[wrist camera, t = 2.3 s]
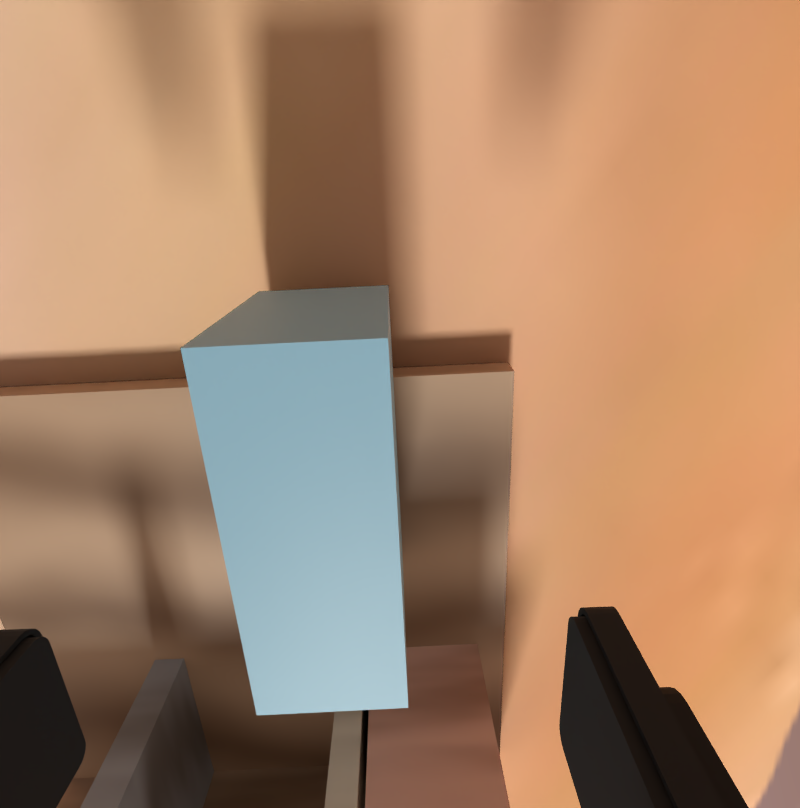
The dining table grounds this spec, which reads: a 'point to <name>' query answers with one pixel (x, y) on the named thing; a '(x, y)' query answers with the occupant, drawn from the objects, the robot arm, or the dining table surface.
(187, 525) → the shelf
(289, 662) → the book
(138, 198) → the dining table surface
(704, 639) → the dining table surface
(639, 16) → the dining table surface
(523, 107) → the dining table surface
